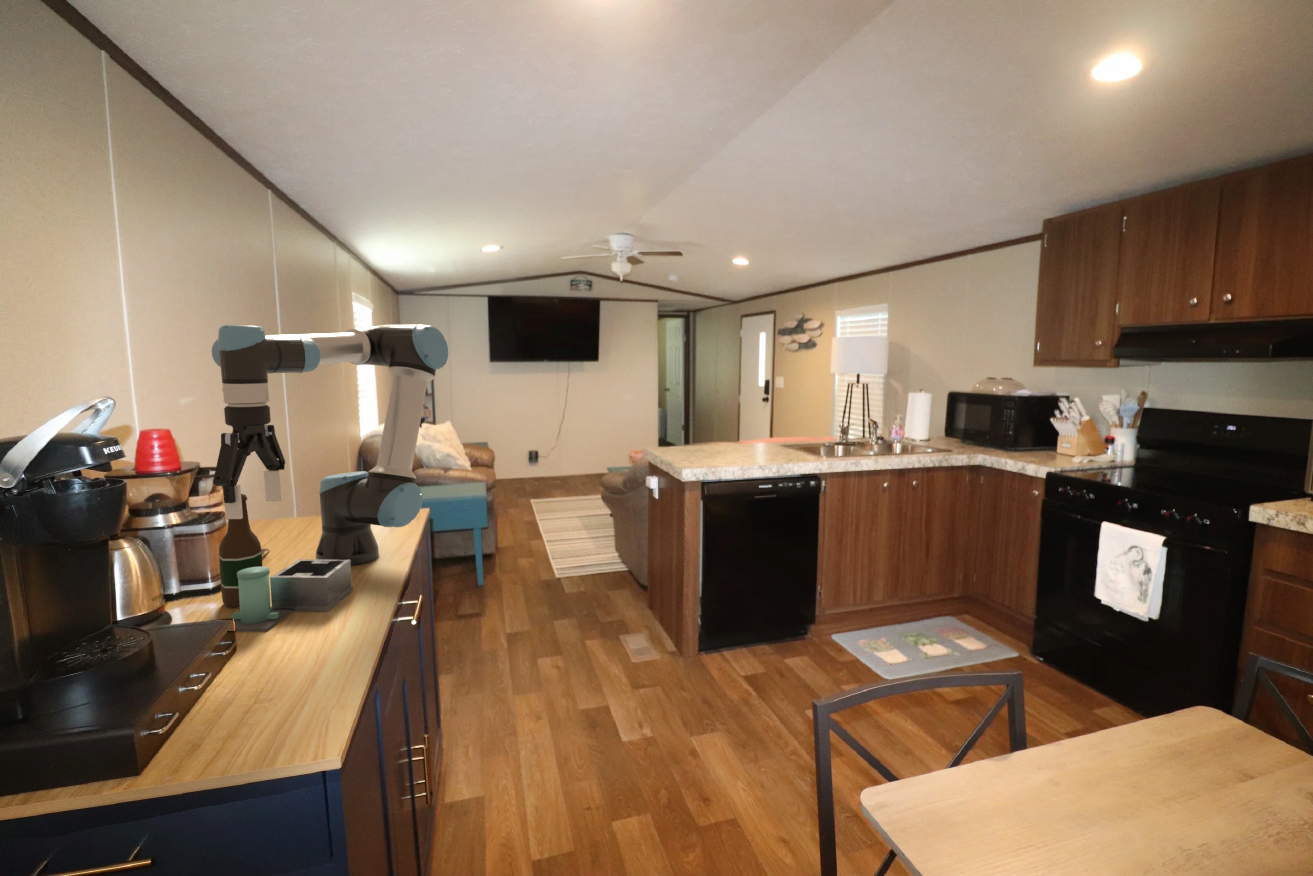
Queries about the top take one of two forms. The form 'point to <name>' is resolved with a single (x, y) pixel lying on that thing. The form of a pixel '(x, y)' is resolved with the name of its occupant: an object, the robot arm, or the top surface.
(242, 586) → the green upright cylinder
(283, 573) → the grey storage bin
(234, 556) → the beer bottle
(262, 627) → the pad
